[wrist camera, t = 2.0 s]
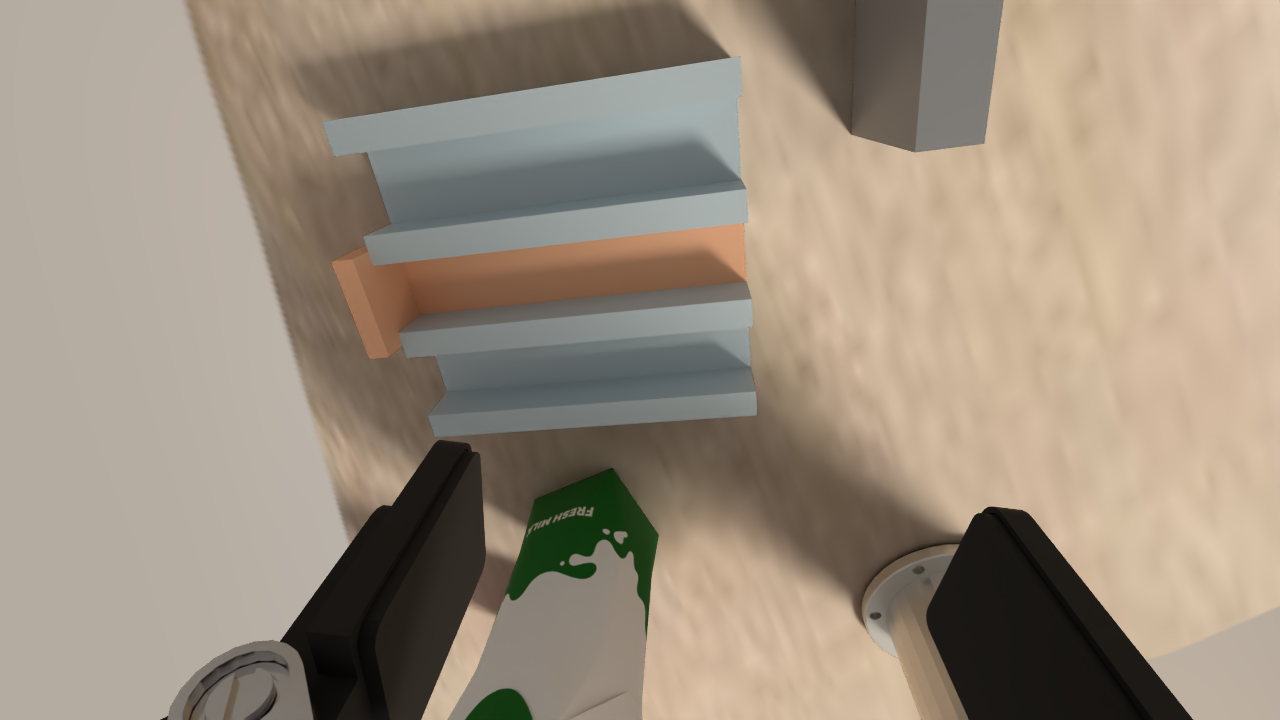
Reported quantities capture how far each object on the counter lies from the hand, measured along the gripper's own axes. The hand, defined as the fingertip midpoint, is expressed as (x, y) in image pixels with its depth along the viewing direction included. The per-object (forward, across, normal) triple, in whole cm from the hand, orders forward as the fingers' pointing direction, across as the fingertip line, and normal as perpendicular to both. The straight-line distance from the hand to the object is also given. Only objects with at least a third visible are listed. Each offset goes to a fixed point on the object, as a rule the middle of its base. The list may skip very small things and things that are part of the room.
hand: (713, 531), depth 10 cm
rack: (+23, +7, +2) cm, 24 cm away
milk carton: (+23, +4, +22) cm, 33 cm away
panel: (+23, -7, -11) cm, 27 cm away
